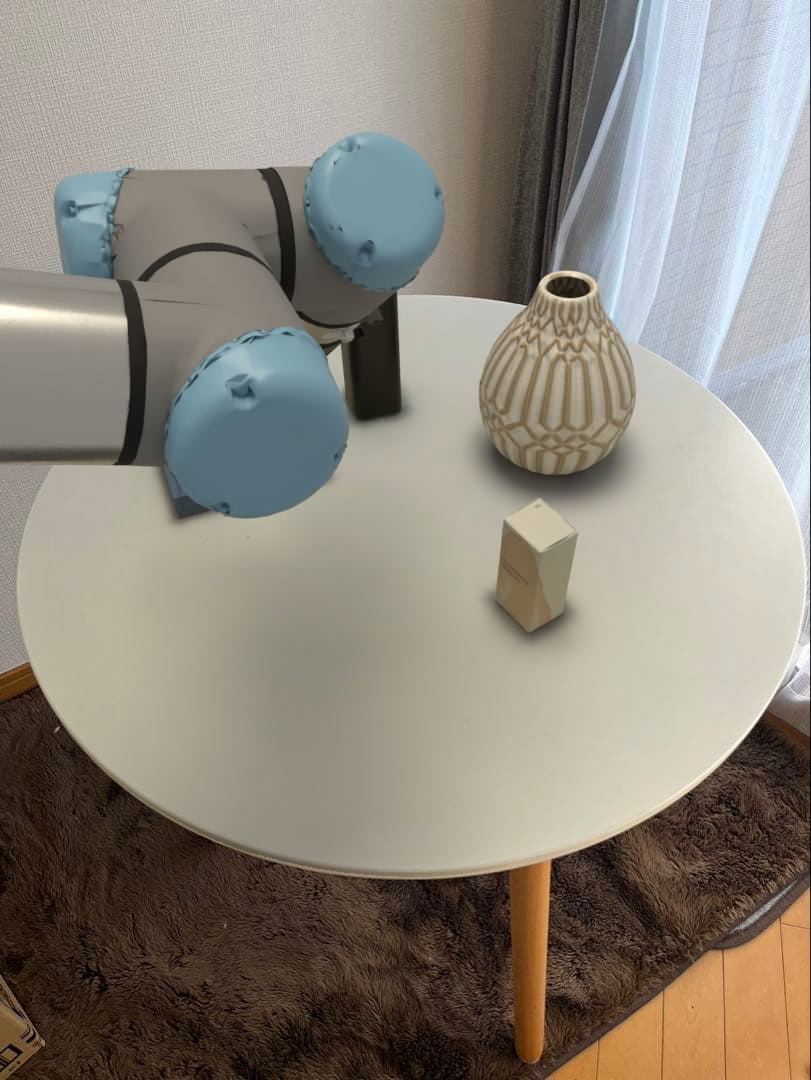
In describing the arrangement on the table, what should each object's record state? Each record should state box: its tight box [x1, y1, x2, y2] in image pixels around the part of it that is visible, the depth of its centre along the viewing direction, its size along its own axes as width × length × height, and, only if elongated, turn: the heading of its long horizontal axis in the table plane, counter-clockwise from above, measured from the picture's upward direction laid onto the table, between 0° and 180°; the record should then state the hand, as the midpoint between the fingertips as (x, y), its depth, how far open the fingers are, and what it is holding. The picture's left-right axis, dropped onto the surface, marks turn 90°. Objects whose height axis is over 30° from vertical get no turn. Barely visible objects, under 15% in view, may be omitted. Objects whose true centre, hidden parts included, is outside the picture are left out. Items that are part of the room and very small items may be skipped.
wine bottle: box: [340, 291, 403, 421], centre depth 93 cm, size 6×6×30 cm
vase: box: [478, 270, 637, 476], centre depth 90 cm, size 16×16×20 cm
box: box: [494, 497, 579, 633], centre depth 79 cm, size 5×4×11 cm
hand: (249, 367), depth 79 cm, fingers open, 13 cm apart
